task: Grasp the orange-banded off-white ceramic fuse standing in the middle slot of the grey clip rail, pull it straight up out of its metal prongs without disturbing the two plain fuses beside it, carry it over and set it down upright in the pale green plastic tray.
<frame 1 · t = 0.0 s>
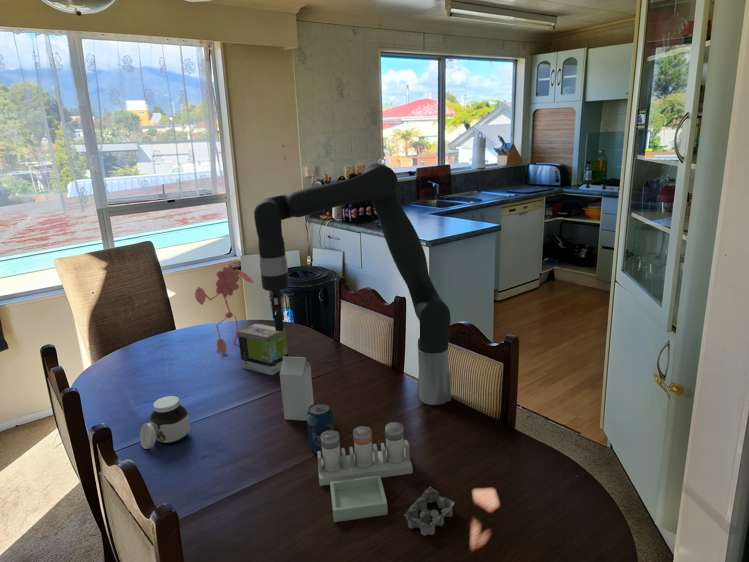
hand: (280, 325, 152), 29 cm above the table, fingers open, 8 cm apart
figurine: (237, 351, 210), on the table
tea box: (266, 367, 195), on the table
spread jar: (165, 441, 151), on the table
egg carton: (430, 519, 116), on the table
clip rail: (364, 469, 133), on the table
tray: (358, 503, 122), on the table
soda can: (322, 448, 144), on the table
marked fuse: (364, 462, 133), point 2 cm above the table, touching clip rail
fuse 1: (332, 466, 132), point 2 cm above the table, touching clip rail
milk carton: (299, 414, 161), on the table
fuse 2: (395, 458, 134), point 2 cm above the table, touching clip rail
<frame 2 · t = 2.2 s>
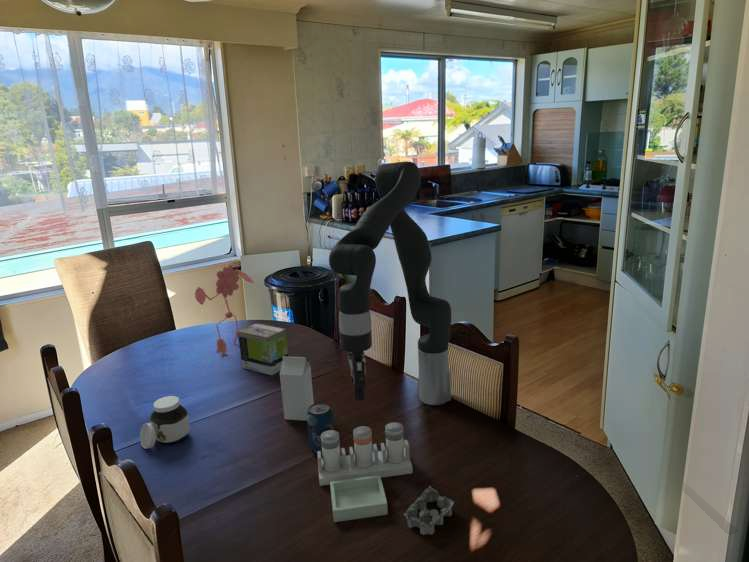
hand: (357, 391, 128), 22 cm above the table, fingers open, 8 cm apart
nothing on the table moved.
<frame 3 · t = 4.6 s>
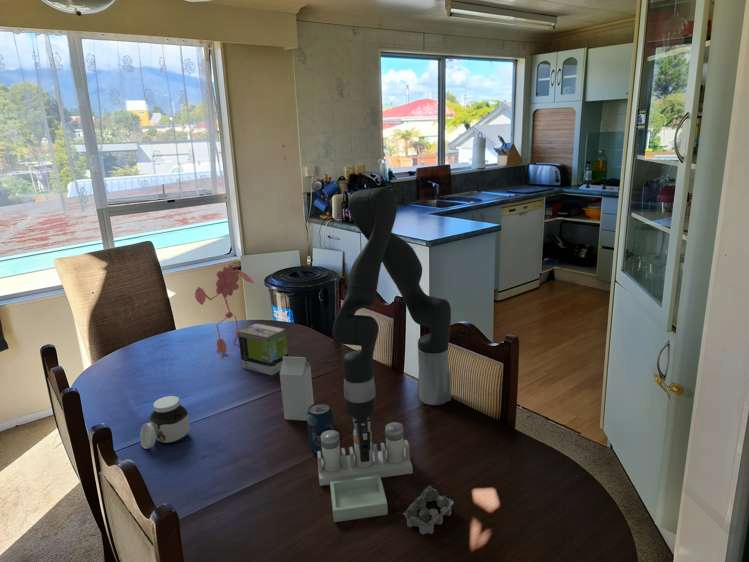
hand: (363, 454, 132), 4 cm above the table, fingers closed on marked fuse, 4 cm apart
marked fuse: (364, 462, 133), point 2 cm above the table, touching clip rail, gripper
everything else where it was.
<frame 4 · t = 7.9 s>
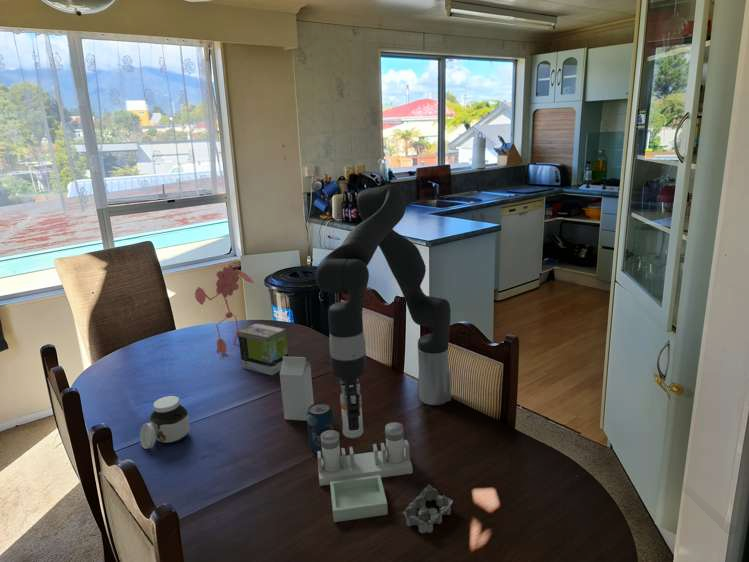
hand: (352, 422, 116), 21 cm above the table, fingers closed on marked fuse, 4 cm apart
marked fuse: (353, 432, 116), point 19 cm above the table, touching gripper
everything else where it was.
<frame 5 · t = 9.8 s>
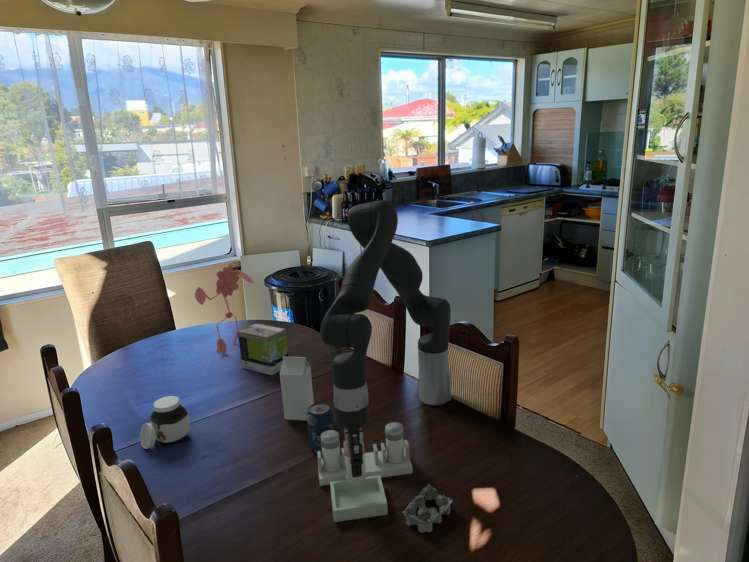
hand: (355, 468, 119), 9 cm above the table, fingers closed on marked fuse, 4 cm apart
marked fuse: (356, 477, 120), point 7 cm above the table, touching gripper
everything else where it was.
when the fingers open (5 cm above the table, at t = 11.2 s): marked fuse drops 2 cm, resting on tray.
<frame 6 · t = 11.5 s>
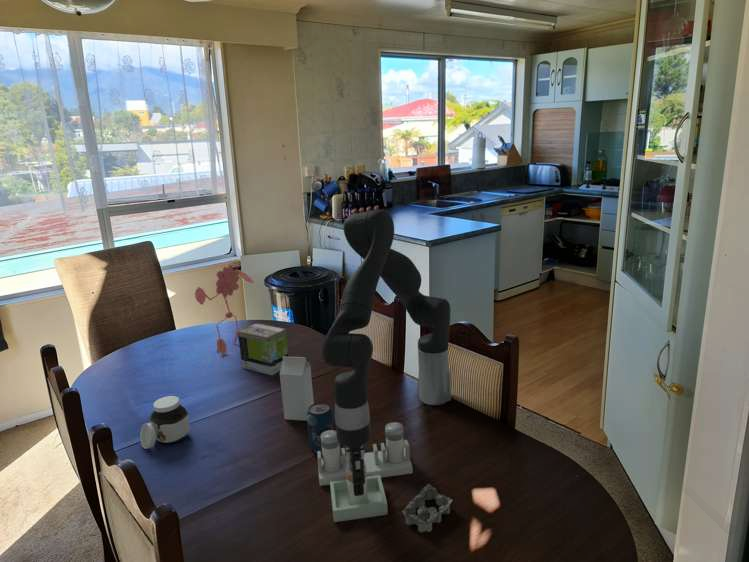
hand: (357, 483, 120), 5 cm above the table, fingers open, 7 cm apart
marked fuse: (358, 500, 121), point 1 cm above the table, touching tray
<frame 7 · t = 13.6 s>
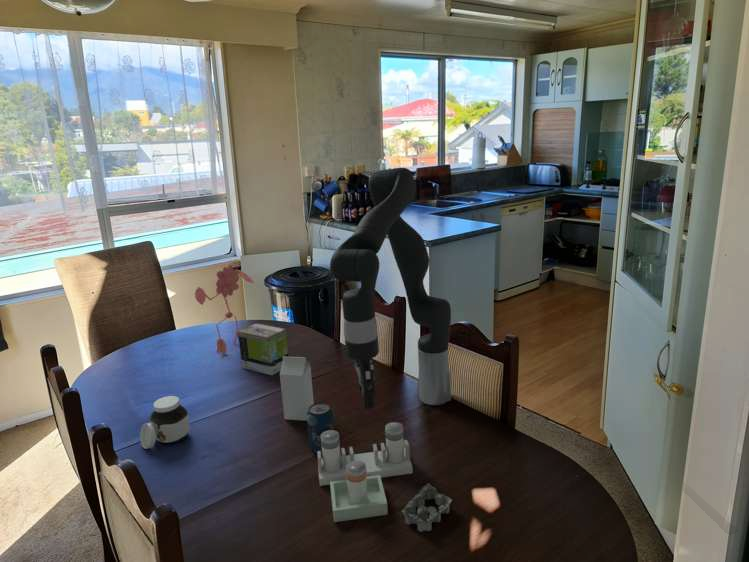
hand: (366, 398, 124), 22 cm above the table, fingers open, 8 cm apart
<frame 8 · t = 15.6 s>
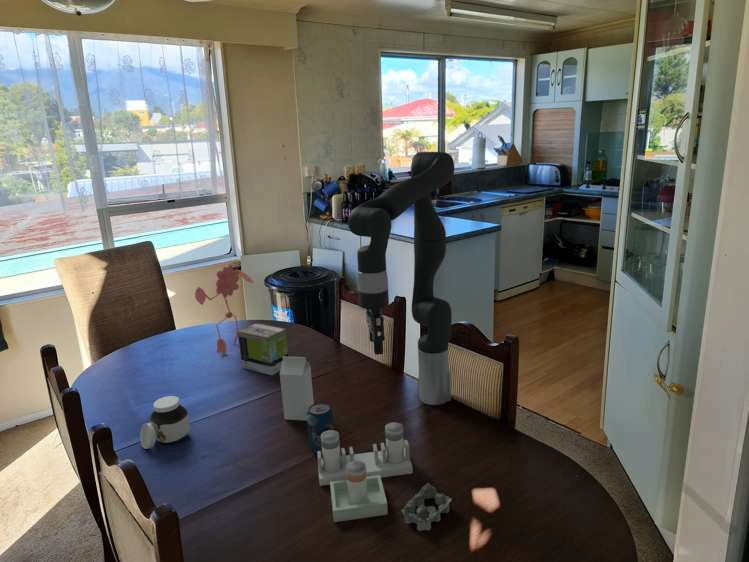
hand: (376, 347, 137), 28 cm above the table, fingers open, 8 cm apart
at the end: marked fuse inside the target area on the tray (0.1 cm from its centre), point 0.8 cm above the tray's base; fuse 2 moved 0.0 cm from its start; fuse 1 moved 0.0 cm from its start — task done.
